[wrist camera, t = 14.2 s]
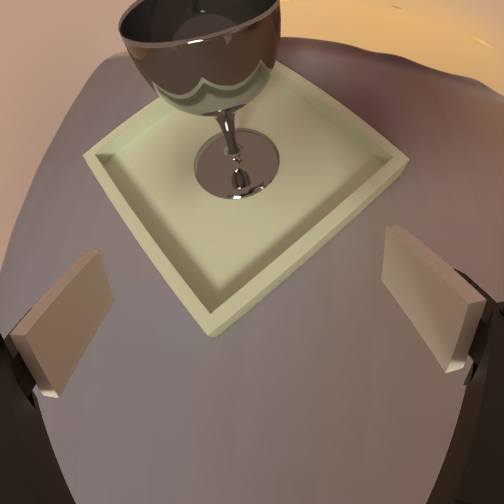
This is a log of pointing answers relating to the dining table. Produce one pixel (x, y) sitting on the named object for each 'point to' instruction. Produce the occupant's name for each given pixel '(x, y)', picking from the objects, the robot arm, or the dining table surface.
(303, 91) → the tray
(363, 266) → the dining table surface
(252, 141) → the wine glass
